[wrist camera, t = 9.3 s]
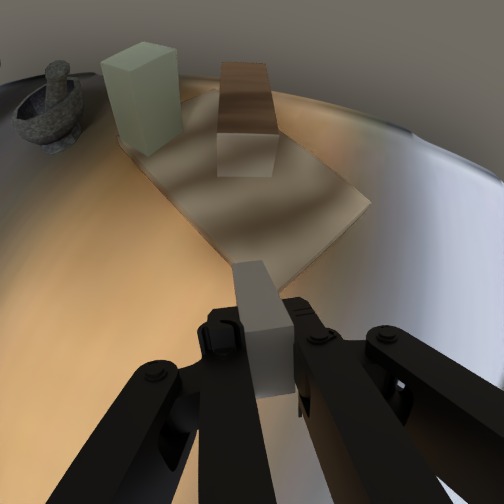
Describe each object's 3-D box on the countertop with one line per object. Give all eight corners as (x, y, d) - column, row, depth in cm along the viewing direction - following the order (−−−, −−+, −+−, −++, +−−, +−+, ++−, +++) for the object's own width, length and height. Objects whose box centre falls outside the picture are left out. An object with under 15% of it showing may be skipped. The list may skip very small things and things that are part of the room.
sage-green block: (120, 139, 28) (100, 62, 19) (154, 116, 30) (143, 41, 22) (148, 156, 27) (129, 71, 18) (183, 131, 29) (176, 49, 20)
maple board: (119, 145, 30) (116, 136, 29) (214, 97, 35) (214, 88, 34) (267, 303, 23) (269, 297, 22) (365, 210, 28) (371, 202, 27)
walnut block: (279, 137, 23) (265, 63, 29) (216, 135, 22) (221, 62, 28) (271, 177, 27) (261, 96, 33) (217, 176, 27) (221, 95, 33)
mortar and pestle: (21, 156, 29) (-14, 89, 18) (64, 112, 33) (41, 46, 23) (66, 174, 28) (26, 90, 17) (115, 122, 32) (94, 41, 21)
